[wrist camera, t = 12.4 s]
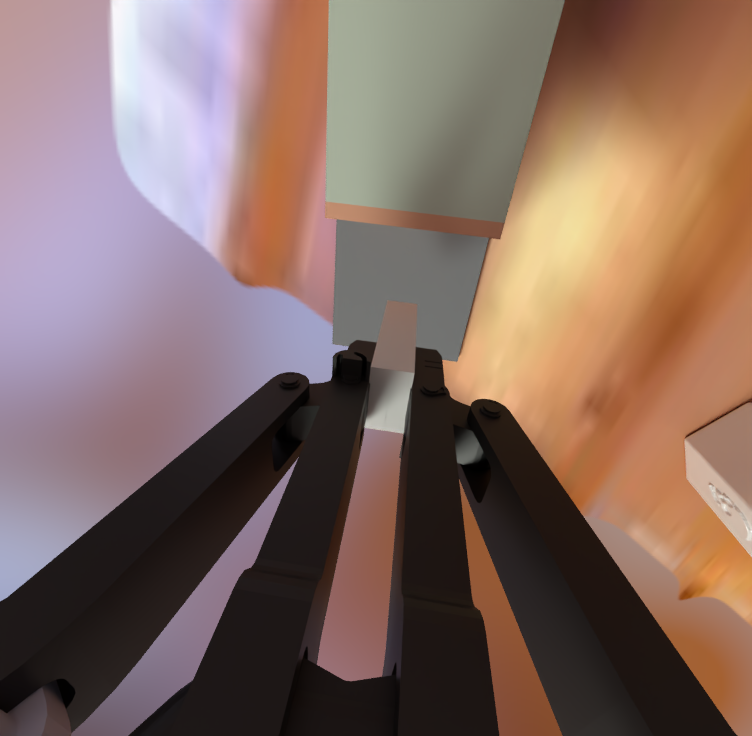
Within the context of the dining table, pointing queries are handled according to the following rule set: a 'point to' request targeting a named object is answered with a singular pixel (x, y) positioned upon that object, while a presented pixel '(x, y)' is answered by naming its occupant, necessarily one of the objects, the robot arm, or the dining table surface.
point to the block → (432, 109)
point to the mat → (405, 282)
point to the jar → (725, 470)
